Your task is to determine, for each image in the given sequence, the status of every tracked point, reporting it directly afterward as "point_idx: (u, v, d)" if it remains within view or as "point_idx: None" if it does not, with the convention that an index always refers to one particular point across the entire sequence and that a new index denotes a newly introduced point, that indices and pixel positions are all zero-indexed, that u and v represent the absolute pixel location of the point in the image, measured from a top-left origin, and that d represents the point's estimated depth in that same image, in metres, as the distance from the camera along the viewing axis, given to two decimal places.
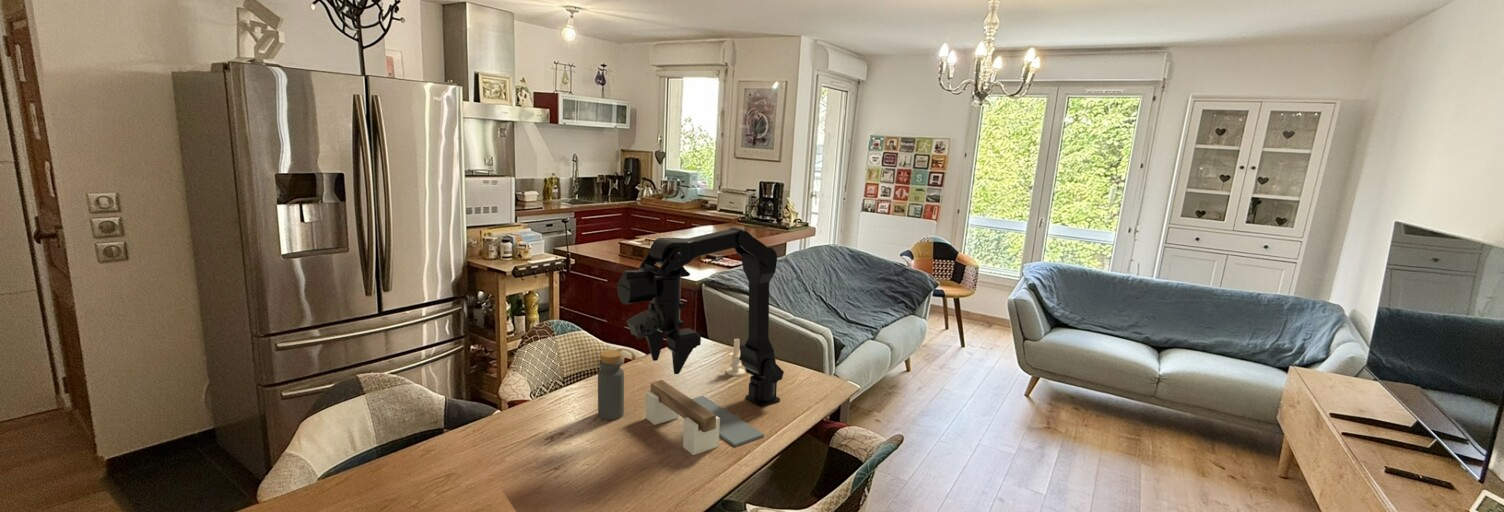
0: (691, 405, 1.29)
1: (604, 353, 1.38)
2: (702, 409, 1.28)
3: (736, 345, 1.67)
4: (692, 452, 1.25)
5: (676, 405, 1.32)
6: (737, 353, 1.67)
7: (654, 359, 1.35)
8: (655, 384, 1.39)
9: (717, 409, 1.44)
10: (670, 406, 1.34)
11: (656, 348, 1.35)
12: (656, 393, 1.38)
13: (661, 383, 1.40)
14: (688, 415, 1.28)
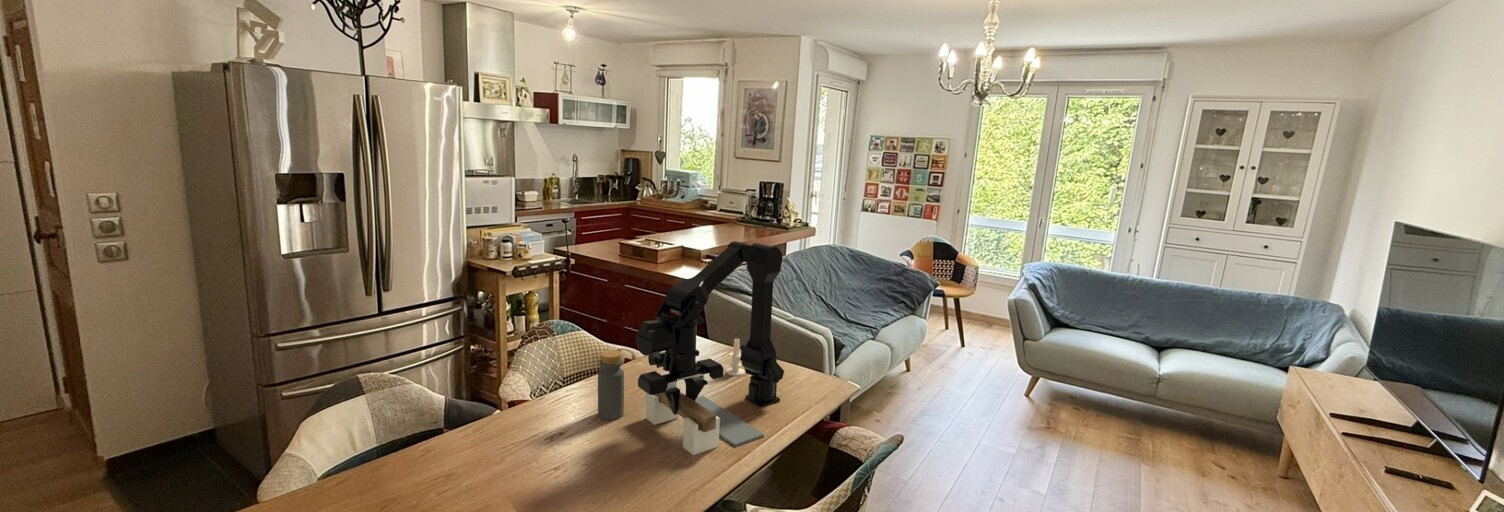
0: (691, 405, 1.29)
1: (604, 353, 1.38)
2: (702, 409, 1.28)
3: (736, 345, 1.67)
4: (692, 452, 1.25)
5: None
6: (737, 353, 1.67)
7: None
8: None
9: (717, 409, 1.44)
10: None
11: None
12: None
13: None
14: (688, 415, 1.28)
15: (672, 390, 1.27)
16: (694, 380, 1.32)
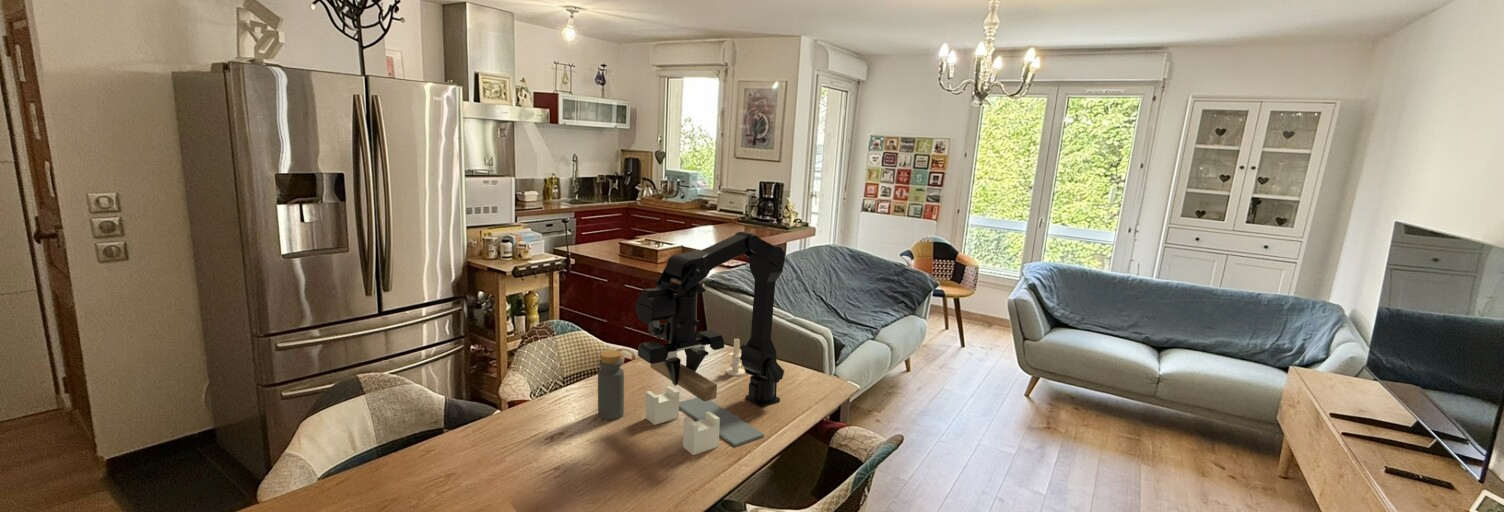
0: (692, 375, 1.27)
1: (604, 353, 1.38)
2: (702, 378, 1.26)
3: (736, 345, 1.67)
4: (692, 452, 1.25)
5: None
6: (737, 353, 1.67)
7: None
8: None
9: (717, 409, 1.44)
10: (670, 377, 1.32)
11: None
12: (656, 365, 1.37)
13: None
14: (688, 385, 1.26)
15: (672, 360, 1.26)
16: (695, 351, 1.31)
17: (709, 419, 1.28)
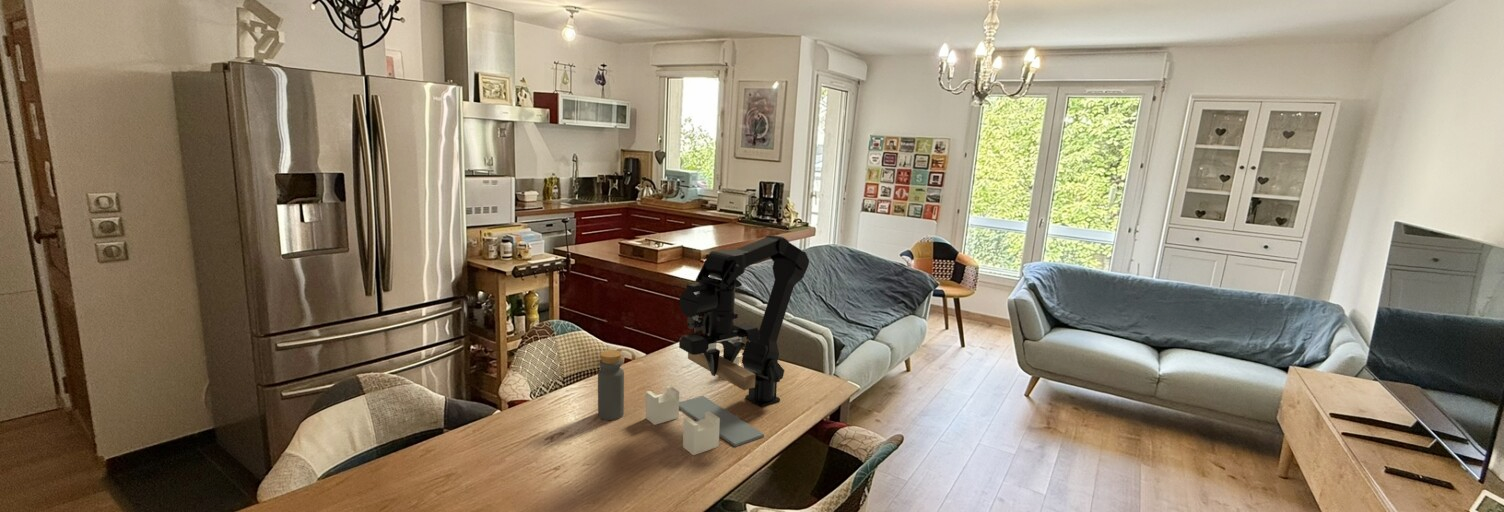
0: (731, 366, 1.34)
1: (604, 353, 1.38)
2: (741, 369, 1.32)
3: None
4: (692, 452, 1.25)
5: None
6: None
7: None
8: None
9: (717, 409, 1.44)
10: None
11: None
12: (694, 356, 1.43)
13: None
14: (728, 375, 1.33)
15: (712, 351, 1.32)
16: (732, 342, 1.37)
17: (709, 419, 1.28)
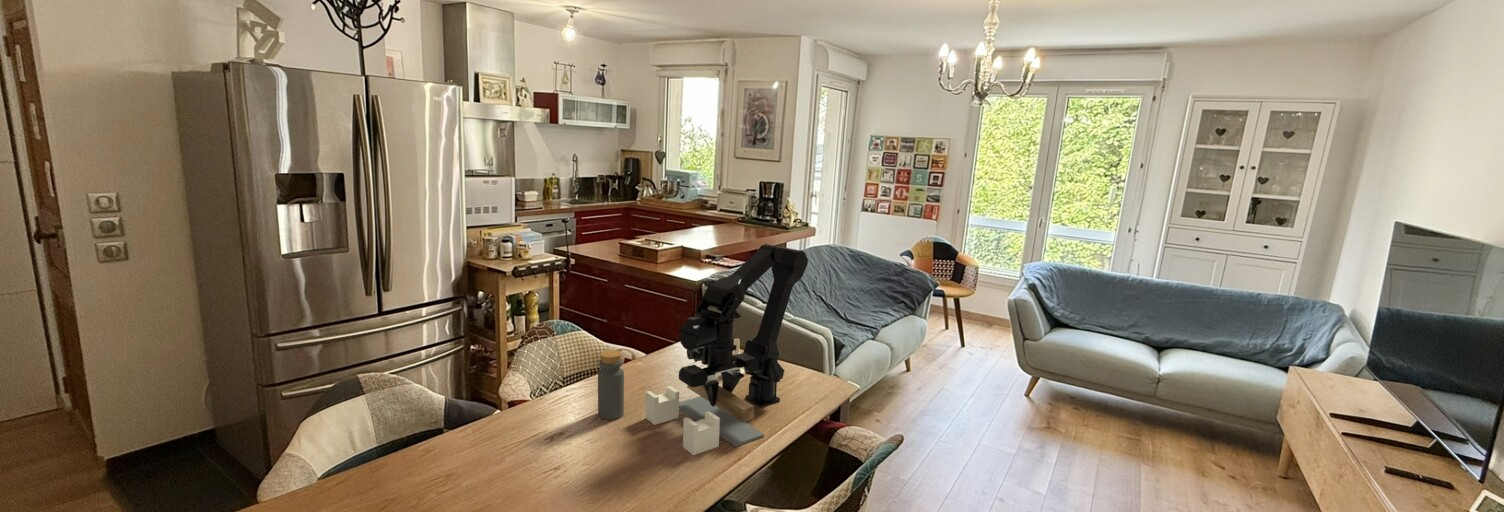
0: (729, 397, 1.35)
1: (604, 353, 1.38)
2: (740, 400, 1.34)
3: (736, 345, 1.67)
4: (692, 452, 1.25)
5: None
6: (737, 353, 1.67)
7: None
8: None
9: (717, 409, 1.44)
10: None
11: None
12: None
13: None
14: (726, 406, 1.34)
15: (711, 383, 1.34)
16: (731, 373, 1.39)
17: (709, 419, 1.28)
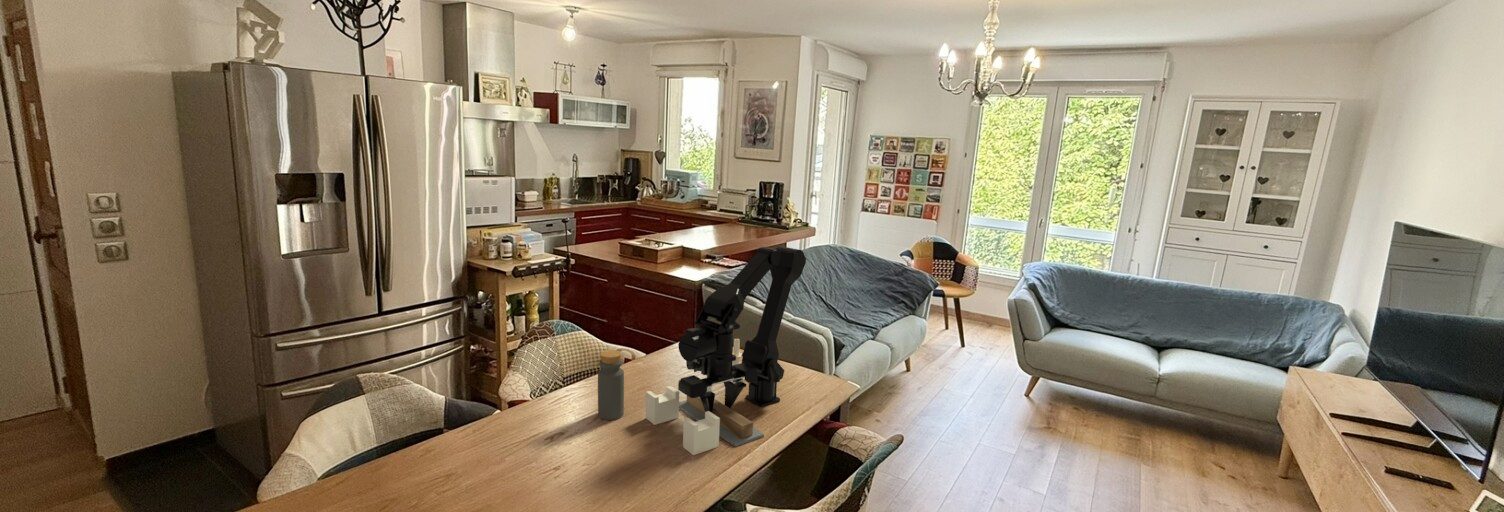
0: (729, 413, 1.36)
1: (604, 353, 1.38)
2: (739, 416, 1.35)
3: (736, 345, 1.67)
4: (692, 452, 1.25)
5: (713, 412, 1.39)
6: (737, 353, 1.67)
7: None
8: None
9: None
10: None
11: (727, 400, 1.41)
12: (692, 401, 1.45)
13: None
14: (726, 422, 1.35)
15: (707, 394, 1.34)
16: (733, 383, 1.40)
17: (709, 419, 1.28)
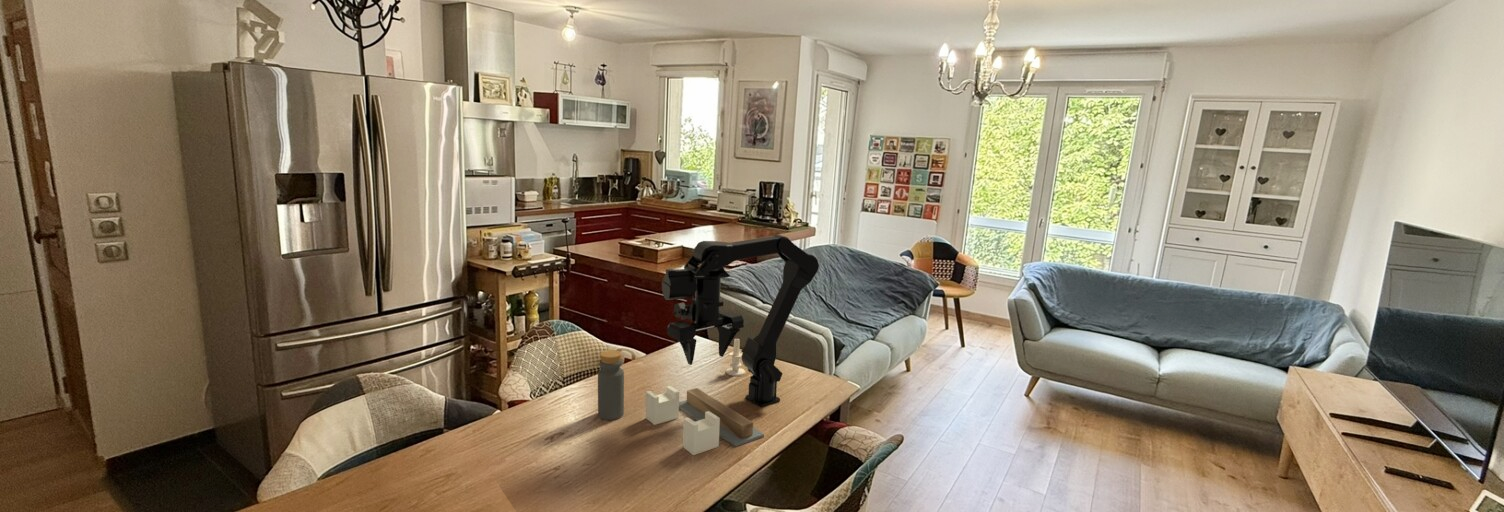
0: (729, 413, 1.36)
1: (604, 353, 1.38)
2: (739, 416, 1.35)
3: (736, 345, 1.67)
4: (692, 452, 1.25)
5: (713, 412, 1.39)
6: (737, 353, 1.67)
7: (719, 354, 1.46)
8: (691, 392, 1.46)
9: None
10: None
11: (722, 345, 1.45)
12: (692, 401, 1.45)
13: (697, 391, 1.47)
14: (726, 422, 1.35)
15: (689, 340, 1.35)
16: (727, 327, 1.44)
17: (709, 419, 1.28)
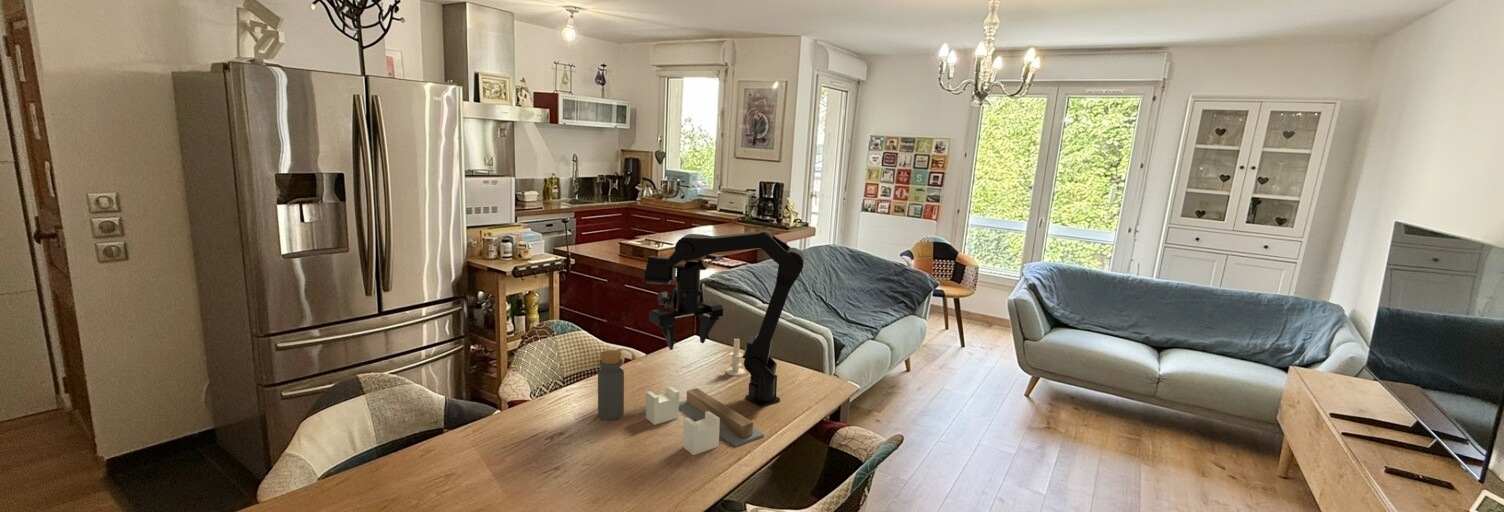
0: (729, 413, 1.36)
1: (604, 353, 1.38)
2: (739, 416, 1.35)
3: (736, 345, 1.67)
4: (692, 452, 1.25)
5: (713, 412, 1.39)
6: (737, 353, 1.67)
7: (700, 341, 1.55)
8: (691, 392, 1.46)
9: None
10: None
11: (702, 332, 1.54)
12: (692, 401, 1.45)
13: (697, 391, 1.47)
14: (726, 422, 1.35)
15: (668, 326, 1.45)
16: (707, 316, 1.53)
17: (709, 419, 1.28)
